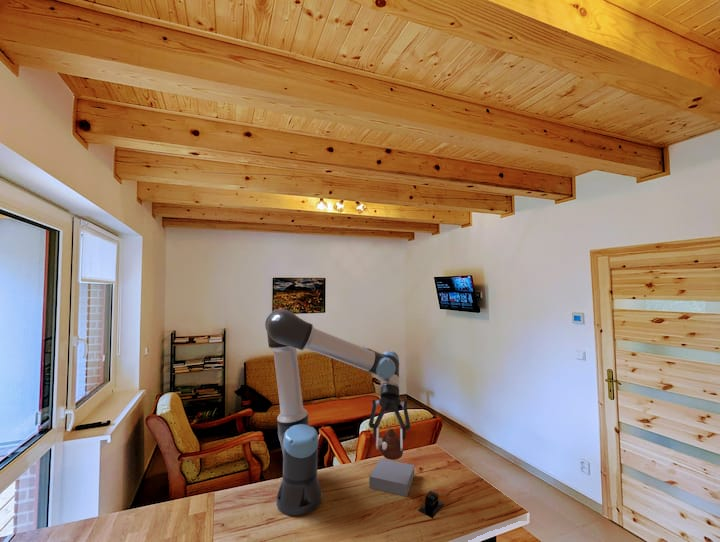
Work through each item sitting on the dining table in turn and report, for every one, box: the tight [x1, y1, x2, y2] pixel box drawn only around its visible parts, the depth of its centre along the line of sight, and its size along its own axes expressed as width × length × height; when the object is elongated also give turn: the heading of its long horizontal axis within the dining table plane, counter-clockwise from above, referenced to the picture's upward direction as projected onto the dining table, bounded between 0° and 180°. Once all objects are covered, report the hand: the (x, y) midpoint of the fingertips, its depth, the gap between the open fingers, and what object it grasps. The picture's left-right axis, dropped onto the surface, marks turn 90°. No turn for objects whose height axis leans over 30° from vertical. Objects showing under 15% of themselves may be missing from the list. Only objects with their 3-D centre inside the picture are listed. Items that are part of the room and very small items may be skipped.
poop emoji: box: [378, 428, 404, 461], centre depth 121 cm, size 10×8×9 cm
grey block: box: [368, 457, 415, 497], centre depth 126 cm, size 14×14×4 cm
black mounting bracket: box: [417, 490, 446, 519], centre depth 112 cm, size 12×7×5 cm, turn 140°
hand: (389, 448), depth 117 cm, fingers closed on poop emoji, 8 cm apart
